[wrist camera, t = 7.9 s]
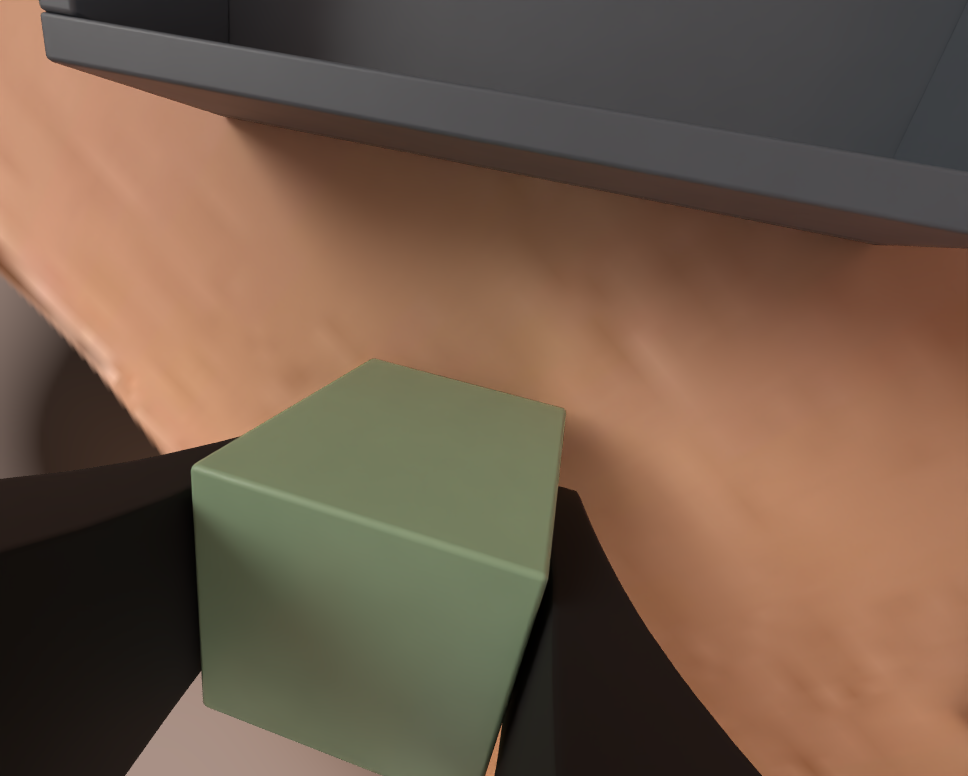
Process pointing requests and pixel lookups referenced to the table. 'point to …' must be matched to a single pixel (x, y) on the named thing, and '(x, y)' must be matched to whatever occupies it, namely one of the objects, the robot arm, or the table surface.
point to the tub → (591, 93)
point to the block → (378, 567)
